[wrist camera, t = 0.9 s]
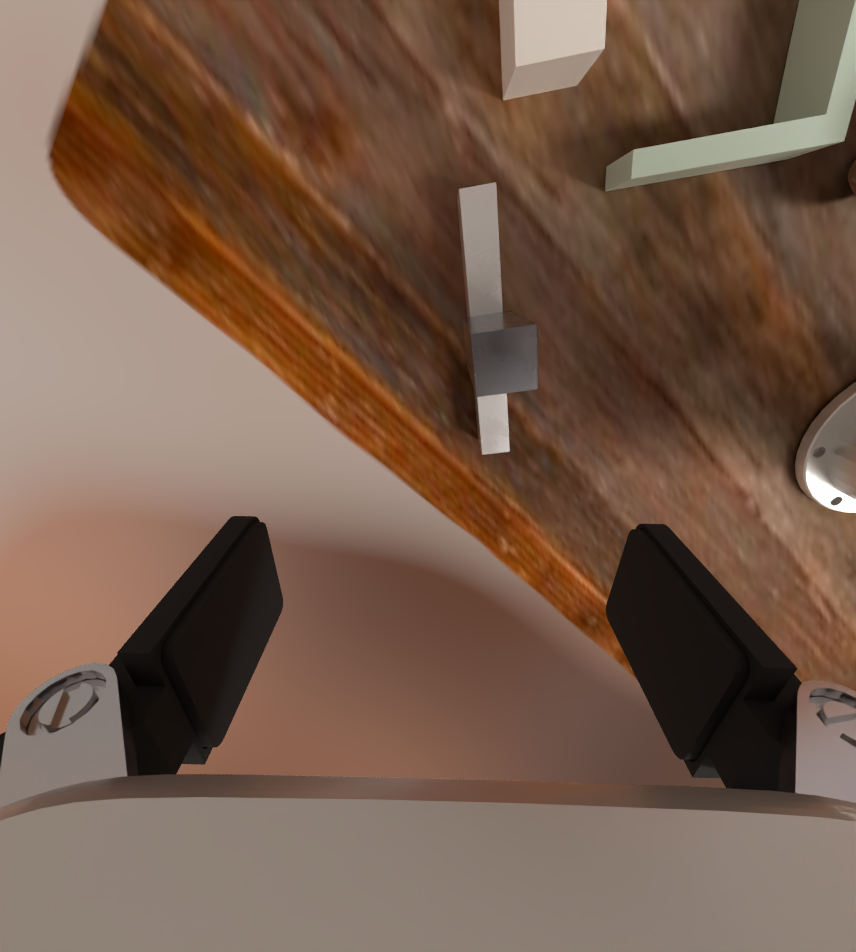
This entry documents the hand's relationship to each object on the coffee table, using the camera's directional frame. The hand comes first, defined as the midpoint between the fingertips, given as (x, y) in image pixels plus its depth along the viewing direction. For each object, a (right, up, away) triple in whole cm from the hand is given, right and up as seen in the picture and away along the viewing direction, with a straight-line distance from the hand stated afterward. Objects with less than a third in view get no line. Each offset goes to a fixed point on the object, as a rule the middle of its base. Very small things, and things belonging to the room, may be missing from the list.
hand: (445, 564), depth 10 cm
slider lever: (+3, +12, +17) cm, 21 cm away
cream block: (+5, +25, +10) cm, 28 cm away
